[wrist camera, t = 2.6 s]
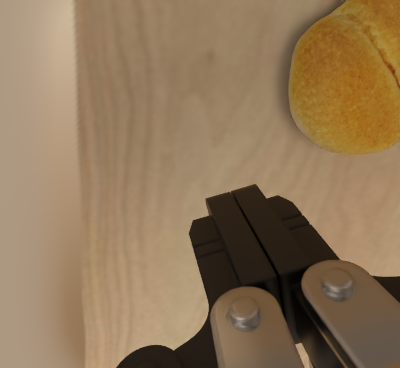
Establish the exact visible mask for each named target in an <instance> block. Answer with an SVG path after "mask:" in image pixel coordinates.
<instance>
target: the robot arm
mask: <svg viewBox="0 0 400 368" xmlns="http://www.w3.org/2000/svg"><path fill="white" fill-rule="evenodd" d="M205 200H206V205H207V209H208V213H209V216H207V217H203V218H200V219H196V220H193V222H192V225H191V228H190V232H189V235H190V239H191V242H192V246H193V249H194V253H195V257H196V260H197V264H198V267H199V271H200V274H201V278H202V281H203V285H204V288H205V292H206V295H207V299H208V303H209V312H208V317H207V319H206V322H205V323H204V325H203V327H202V328H201V329H200V331H199V332H198V333H197V334H196V335H195V336H194V337H193V338H191V339H190V340H189V341H187V342H186V343H184V344H183V345H181V346H180V347H178V348H177V349H175V350H174V351H173V350H172V349H170V348H168V347H166V346H161V345H150V346H146V347H142V348H140V349H138V350H136V351H134V352H132V353H131V354H129V355H128V356H127V357H125V358H124V359H123V360H122V361H121V362H120V364H119V365H118V366H117V368H304V365H303V363H302V360H301V358H300V355H299V353H298V350H297V348H296V346H295V344H298V343H302V345H303V347H304V349H305V351H306V352H307V354H308V356H309V366H310V368H400V276H398V277H378V276H371V275H370V274H369V273H368V272H367V271H366V270H364V269H363V268H361V267H360V266H358V265H356V264H353V263H350V262H347V261H342V260H340V259H339V258H338V256H337V255H336V254H335V253H334V252H333V250H332V249H331V248H330V247H329V246H328V244H327V243H326V242H325V241H324V240H323V238H322V237H321V236H320V235H319V234H318V232H317V231H316V230H315V229H314V228H313V226H312V225H310V224H309V222H308V220H307V219H306V218H305V217H304V216H302V213H301V212H300V211H299V210H298V208H297V207H296V206H295V205H294V204H293V202H291V201H289V200H287V199H285V198H283V197H280V196H278V195H277V196H274V197H271V198H267V199H266V197H265V196H264V195H263V193H262V192H261V190H260V189H259V188H258V186H257V185H256V184H254V185H250V186H247V187H244V188H240V189H237V190H233V191H231V193H230V192H227V193H223V194H220V195H216V196H213V197H210V198H206V199H205Z"/></svg>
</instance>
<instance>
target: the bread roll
mask: <svg viewBox="0 0 400 368" xmlns="http://www.w3.org/2000/svg"><path fill="white" fill-rule="evenodd" d="M288 92H289V106H290V111H291V115H292V118H293V120H294V122H295V123H296V125H297V127H298V128H299V130H300V131H301V132H302V133H303V134H304V135H306V137H307V138H308V139H309V140H311V141H312V142H313V143H315V144H316V145H318V146H319V147H321V148H323V149H325V150H327V151H330V152H334V153H339V154H344V155H363V154H370V153H375V152H379V151H382V150H385V149H387V148H389V147H391V146H393V145H394V144H395V143H396V142H398V141H399V140H400V0H346V1H345V2H344V3H343V4H342V5H341V6H340V7H338V8H337V9H336V10H334V11H333V12H332V13H331V14H329V15H328V16H325V17H323V18H321V19H320V20H319V21H317V22H316V23H314V24H313V25H312V26H311V27H310V28H309V29H308V30H307V31H306V32H305V33H304V34H303V35H302V36H301V38H300V39H299V40H298V42H297V44H296V46H295V49H294V52H293V55H292V61H291V68H290V76H289V87H288Z"/></svg>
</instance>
